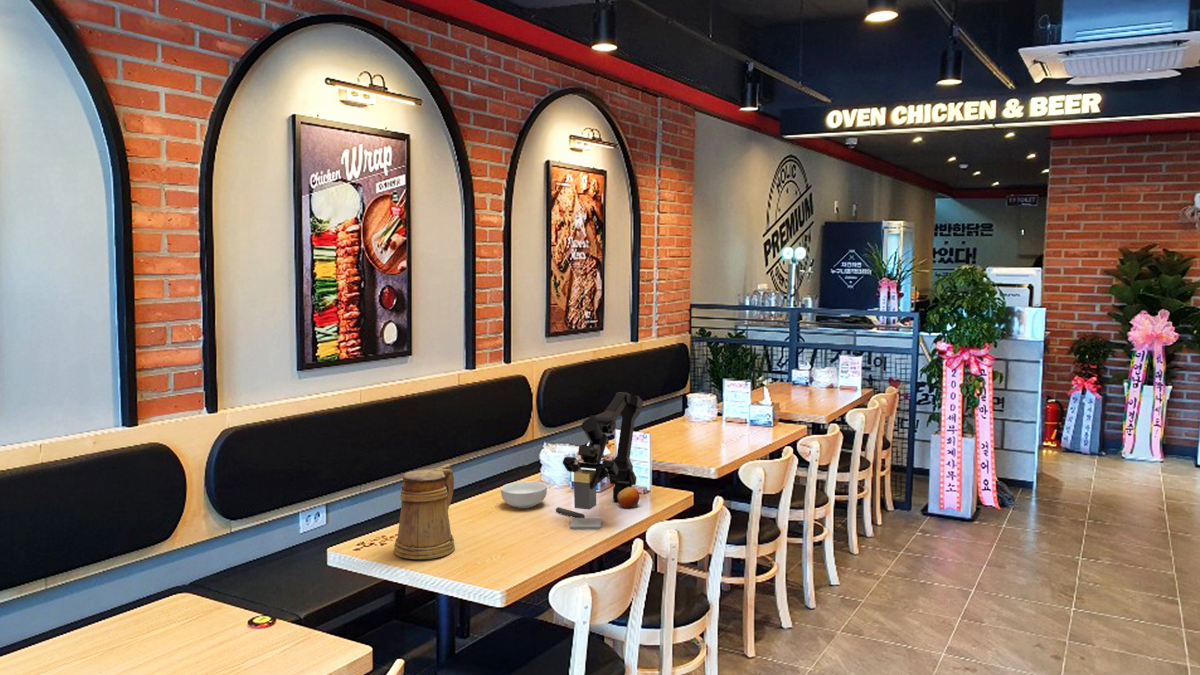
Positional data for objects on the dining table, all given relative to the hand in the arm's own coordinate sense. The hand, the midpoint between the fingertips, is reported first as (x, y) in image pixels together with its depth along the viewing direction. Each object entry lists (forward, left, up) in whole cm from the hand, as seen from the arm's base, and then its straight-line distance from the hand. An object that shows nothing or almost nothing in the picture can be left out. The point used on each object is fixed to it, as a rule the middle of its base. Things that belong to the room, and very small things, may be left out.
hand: (583, 487), depth 297 cm
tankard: (+46, +24, -13) cm, 54 cm away
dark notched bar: (+6, -12, -13) cm, 19 cm away
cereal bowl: (+23, -25, -13) cm, 37 cm away
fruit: (-15, -24, -13) cm, 31 cm away
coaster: (-1, -1, -13) cm, 13 cm away
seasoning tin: (-1, -1, -7) cm, 7 cm away
